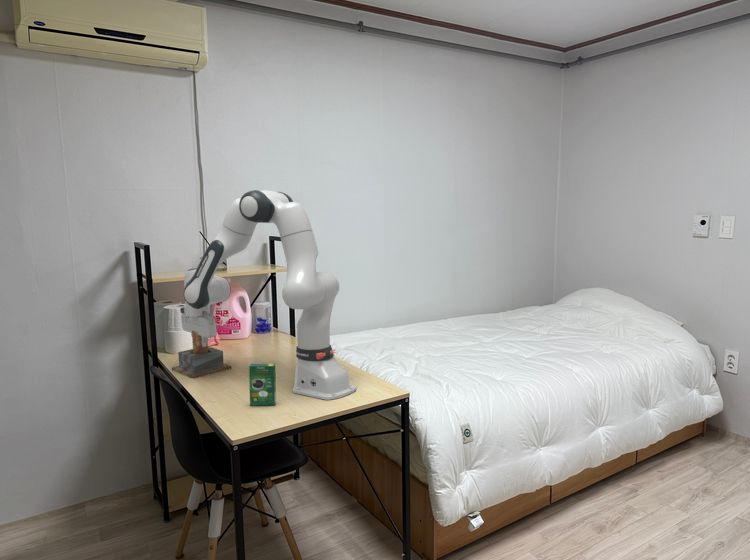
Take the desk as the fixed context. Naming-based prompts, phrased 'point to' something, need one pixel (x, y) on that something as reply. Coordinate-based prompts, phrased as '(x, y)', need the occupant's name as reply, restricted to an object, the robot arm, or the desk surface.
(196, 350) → the peg
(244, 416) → the desk surface
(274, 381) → the coffee box
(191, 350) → the hole block
